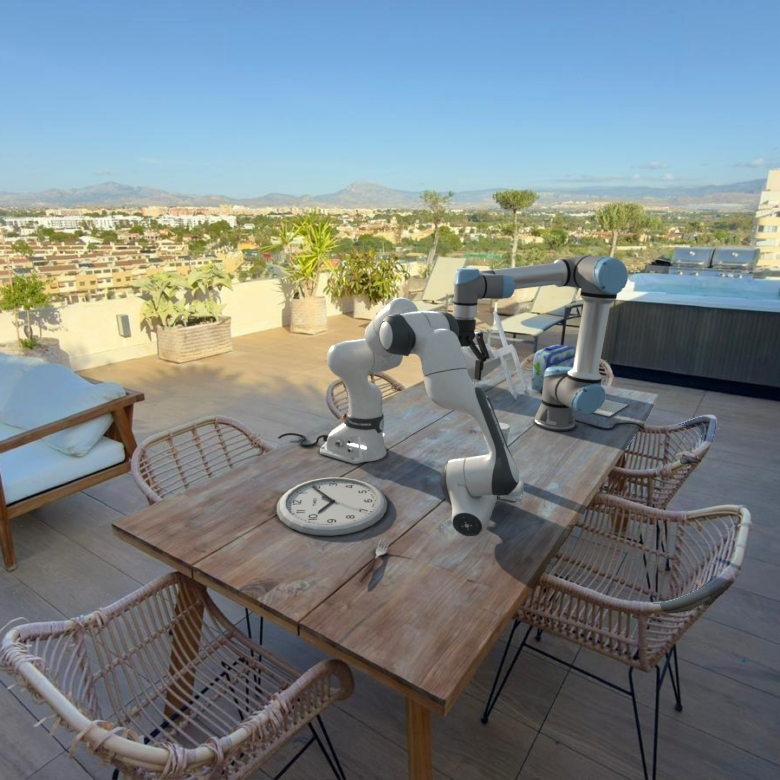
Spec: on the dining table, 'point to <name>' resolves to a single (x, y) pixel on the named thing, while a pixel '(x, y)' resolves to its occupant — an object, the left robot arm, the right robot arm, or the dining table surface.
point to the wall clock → (331, 506)
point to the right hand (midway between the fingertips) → (460, 381)
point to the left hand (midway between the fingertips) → (490, 472)
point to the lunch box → (550, 362)
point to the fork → (379, 552)
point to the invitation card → (610, 408)
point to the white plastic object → (497, 360)
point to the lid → (504, 428)
